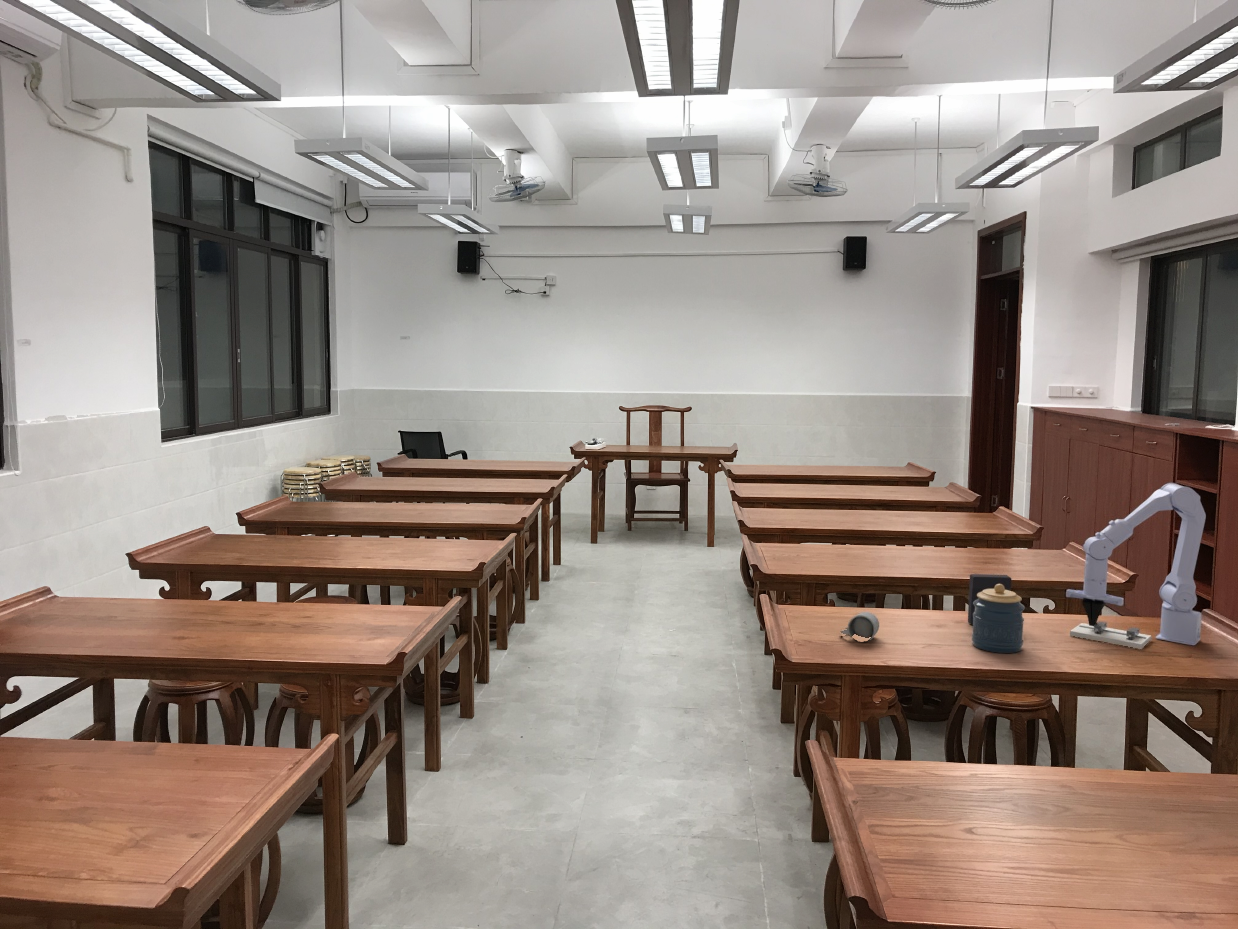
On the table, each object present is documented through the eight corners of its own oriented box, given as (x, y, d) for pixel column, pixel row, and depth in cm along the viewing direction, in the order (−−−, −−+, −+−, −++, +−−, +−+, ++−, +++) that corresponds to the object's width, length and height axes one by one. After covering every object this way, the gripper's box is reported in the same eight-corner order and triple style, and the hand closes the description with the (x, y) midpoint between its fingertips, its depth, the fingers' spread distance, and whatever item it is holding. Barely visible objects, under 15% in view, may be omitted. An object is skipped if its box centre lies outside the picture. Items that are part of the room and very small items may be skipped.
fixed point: (1139, 634, 246) (1139, 628, 246) (1133, 638, 242) (1133, 632, 242) (1131, 632, 247) (1131, 627, 247) (1125, 637, 243) (1125, 631, 243)
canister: (998, 656, 233) (1001, 591, 231) (961, 643, 244) (963, 581, 242) (1033, 650, 238) (1036, 587, 236) (995, 637, 250) (998, 576, 248)
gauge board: (1150, 640, 246) (1151, 634, 246) (1140, 649, 238) (1141, 643, 238) (1081, 627, 259) (1081, 622, 259) (1069, 636, 251) (1070, 630, 251)
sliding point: (1106, 628, 252) (1106, 622, 252) (1100, 632, 248) (1100, 626, 247) (1098, 626, 253) (1099, 621, 253) (1092, 631, 249) (1093, 625, 249)
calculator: (1004, 623, 264) (1006, 574, 262) (1009, 627, 260) (1011, 577, 258) (966, 621, 265) (968, 573, 263) (971, 626, 261) (973, 576, 259)
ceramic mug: (880, 636, 250) (880, 610, 249) (874, 644, 243) (875, 617, 242) (842, 632, 255) (843, 606, 254) (836, 639, 248) (836, 613, 247)
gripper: (1063, 577, 253) (1061, 623, 254) (1119, 585, 243) (1116, 633, 244) (1071, 573, 258) (1068, 618, 259) (1126, 581, 248) (1123, 628, 249)
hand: (1092, 625), depth 252 cm, fingers closed
